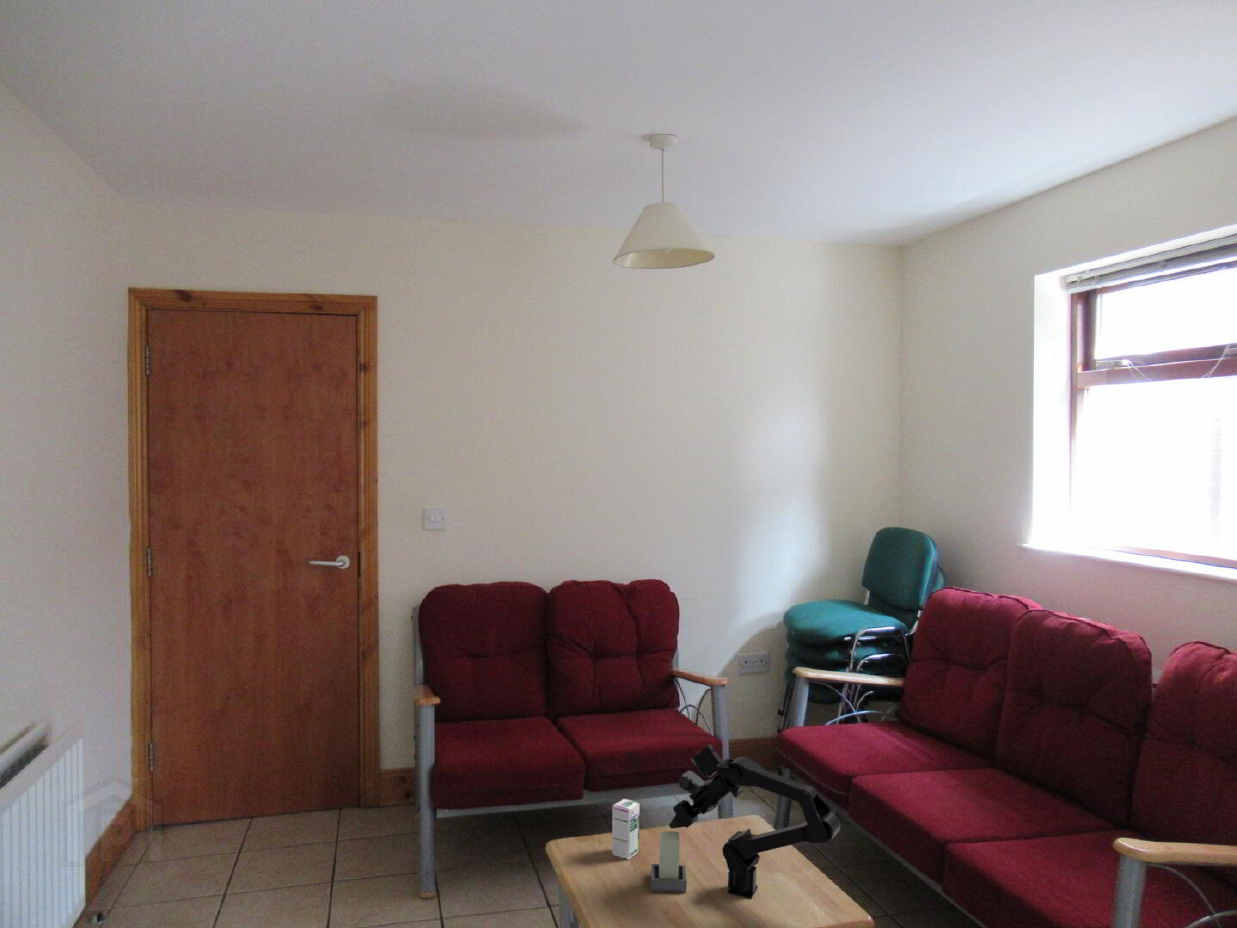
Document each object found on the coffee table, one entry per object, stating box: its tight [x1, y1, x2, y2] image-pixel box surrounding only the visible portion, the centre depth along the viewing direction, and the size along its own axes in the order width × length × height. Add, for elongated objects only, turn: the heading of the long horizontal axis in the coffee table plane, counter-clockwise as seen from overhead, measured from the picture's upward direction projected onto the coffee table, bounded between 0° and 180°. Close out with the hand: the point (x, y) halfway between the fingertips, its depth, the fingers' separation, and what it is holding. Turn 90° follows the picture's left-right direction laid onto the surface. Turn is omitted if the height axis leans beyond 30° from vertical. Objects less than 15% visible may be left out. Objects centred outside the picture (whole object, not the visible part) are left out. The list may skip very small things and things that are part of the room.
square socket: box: [650, 863, 688, 894], centre depth 238 cm, size 9×9×3 cm
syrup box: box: [611, 798, 640, 860], centre depth 254 cm, size 6×6×14 cm
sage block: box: [658, 830, 680, 879], centre depth 238 cm, size 5×5×13 cm
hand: (678, 820), depth 245 cm, fingers open, 9 cm apart
